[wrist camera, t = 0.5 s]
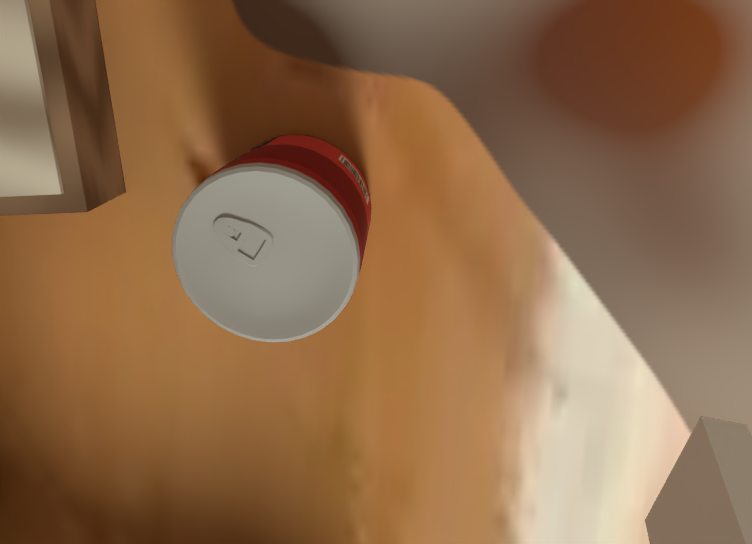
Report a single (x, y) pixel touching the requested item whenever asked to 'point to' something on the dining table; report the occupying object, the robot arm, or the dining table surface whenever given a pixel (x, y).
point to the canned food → (275, 239)
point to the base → (55, 110)
